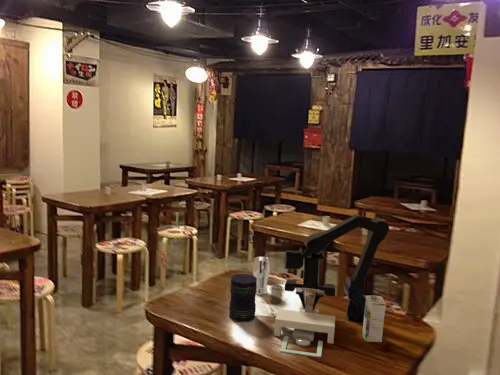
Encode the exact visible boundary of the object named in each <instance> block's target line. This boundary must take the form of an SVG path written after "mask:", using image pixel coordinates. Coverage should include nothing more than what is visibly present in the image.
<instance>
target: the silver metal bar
mask: <svg viewBox="0 0 500 375" xmlns="http://www.w3.org/2000/svg"><path fill="white" fill-rule="evenodd" d="M305 294H306V295H305V309H303V307H300V308H299V311H298V312H306V313H314V314H319V309H314V310H313V304H314V299H315V293H305ZM315 334H316V331H309V330H302V329H294V328H293V331H292V339H295V340H296V337H298V336H305V337H308V338H310V339H311V342H313V341H314V338H315Z"/></svg>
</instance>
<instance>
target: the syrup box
mask: <svg viewBox="0 0 500 375" xmlns="http://www.w3.org/2000/svg"><path fill="white" fill-rule="evenodd" d="M365 298H366V304H365V313H364V322H362V323H363V324H362V325H363V326H362V336H363V339H364V341H365V342H368V343H369V342H370V343H371V342H373V343H374V342H375V343H382V342H383V334H384V333H383V332H384V321H385V313H386V303H387V302H385V299H384V298H383V296H381V295H365Z"/></svg>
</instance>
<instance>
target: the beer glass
mask: <svg viewBox="0 0 500 375" xmlns="http://www.w3.org/2000/svg"><path fill="white" fill-rule="evenodd" d="M270 262H271V260H270V258H269V257H267V256H256V257H254V258H253V265H252V266H253V267H252V271H253V272H252V274H253V276H255V277H256V278H257V289H256V291H257V292H256V294H255V295H258V296H266V295H267V294H268V287H267V286H268V281H269V276H270V271H271V270H270V269H271V265H270V264H271V263H270Z"/></svg>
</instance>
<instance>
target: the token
mask: <svg viewBox="0 0 500 375" xmlns="http://www.w3.org/2000/svg"><path fill="white" fill-rule="evenodd" d="M311 342H312V341H311V339H310V338H308V337H305V336H298V337H296V339H295V344H296V345H297V346H299V347H305V348H306V347H309V346H311Z"/></svg>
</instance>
